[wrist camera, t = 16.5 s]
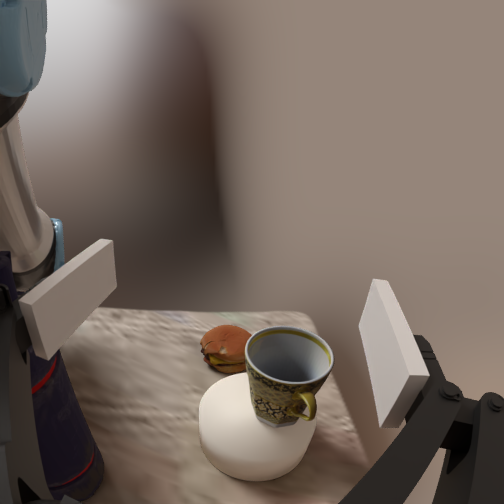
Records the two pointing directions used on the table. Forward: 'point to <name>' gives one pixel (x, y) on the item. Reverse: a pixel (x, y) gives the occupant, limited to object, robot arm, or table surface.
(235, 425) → the plinth
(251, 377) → the ceramic cup
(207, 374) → the table surface
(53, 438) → the grenade
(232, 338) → the burger
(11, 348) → the robot arm
